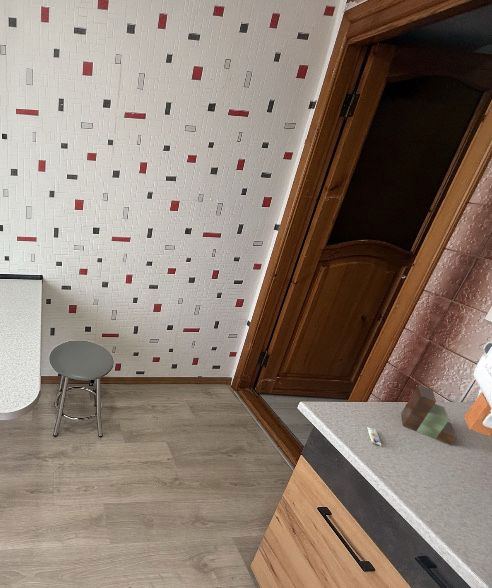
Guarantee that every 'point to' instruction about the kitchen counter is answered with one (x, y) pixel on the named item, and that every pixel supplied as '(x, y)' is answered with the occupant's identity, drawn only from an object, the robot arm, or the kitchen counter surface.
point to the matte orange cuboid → (478, 415)
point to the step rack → (427, 416)
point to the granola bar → (374, 436)
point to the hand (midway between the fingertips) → (483, 417)
